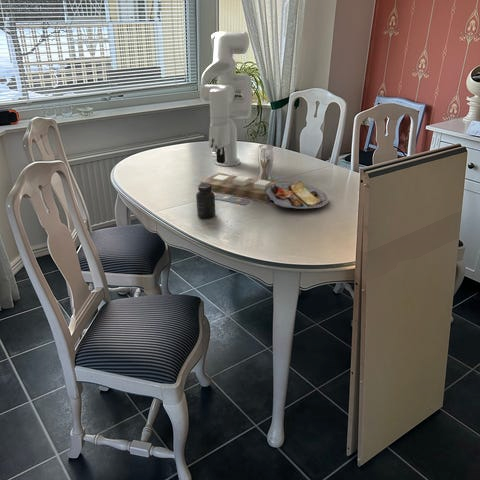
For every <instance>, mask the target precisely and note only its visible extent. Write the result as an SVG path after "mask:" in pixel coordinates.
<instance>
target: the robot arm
mask: <svg viewBox="0 0 480 480" xmlns="http://www.w3.org/2000/svg"><path fill="white" fill-rule="evenodd" d="M210 45H211V48H212V63H211V64H210V65H209V66H207V68H206V69H205V70H204V71H203V73H202V75H201V78H200V83H199V84H200V87H199V97H200V100H201V101H202V102H203V103H205V104H209V114H210V115H209V118H210V119H209V120H210V124H209V130H208V131H209V132H208V147H209V149H212V153H211V158H215V160H214V164H215V165H217V166H221V167H234V166H237V165H239V164H240V163H241V160H240V158H238V148H237V147H238V145H237V144H238V143H237V141H238V140H237V138H238V137H237V136H238V135H237V134H238V133H237V131H238V130H237V125H236V123H235V122H234V120H233V119H248V118H250V116H251V114H252V90H253V89H252V79H251V76H250V75H249V74H248V73H245V72H244V73H242V72H241V73H239V72H237V73H236V71H237V70H236V60H235V59H234V58H233V56H234V55H245V54H246V53H247V52H248V50H249V48H250V37H249V34H248V32H247V31H241V30H240V31H236V30H235V31H233V30H232V31H231V30H229V31H216V32H214V33H212V34H211V36H210ZM215 78H217V83H210V82H211V81H212V80H215ZM236 95H239V96H241V97H239V96H238V97H235V96H236Z"/></svg>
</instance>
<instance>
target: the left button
mask: <svg viewBox="0 0 480 480" xmlns="http://www.w3.org/2000/svg"><path fill="white" fill-rule="evenodd" d="M227 180H229V176H224V175H218V176H216V177H214V178H213V181H218V182H223V183H224V182H225V181H227Z"/></svg>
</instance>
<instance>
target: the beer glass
mask: <svg viewBox="0 0 480 480" xmlns="http://www.w3.org/2000/svg"><path fill="white" fill-rule="evenodd" d="M274 149H275V148H274V145H273V144H261V145H259V146H258V152H257V154H258V156H257V157H258V158H257V161H258V166H259V177H258V180H265V181H270V182H272V181H273V172H272V170H273V165H274V160H275V150H274Z"/></svg>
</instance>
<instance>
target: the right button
mask: <svg viewBox="0 0 480 480" xmlns="http://www.w3.org/2000/svg"><path fill="white" fill-rule="evenodd" d="M257 180H258V181H257V182H255V183H254V188H255V189H260V190H266V189H267V188H268V186H271V182H272V181H265V180H259V179H257Z"/></svg>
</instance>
